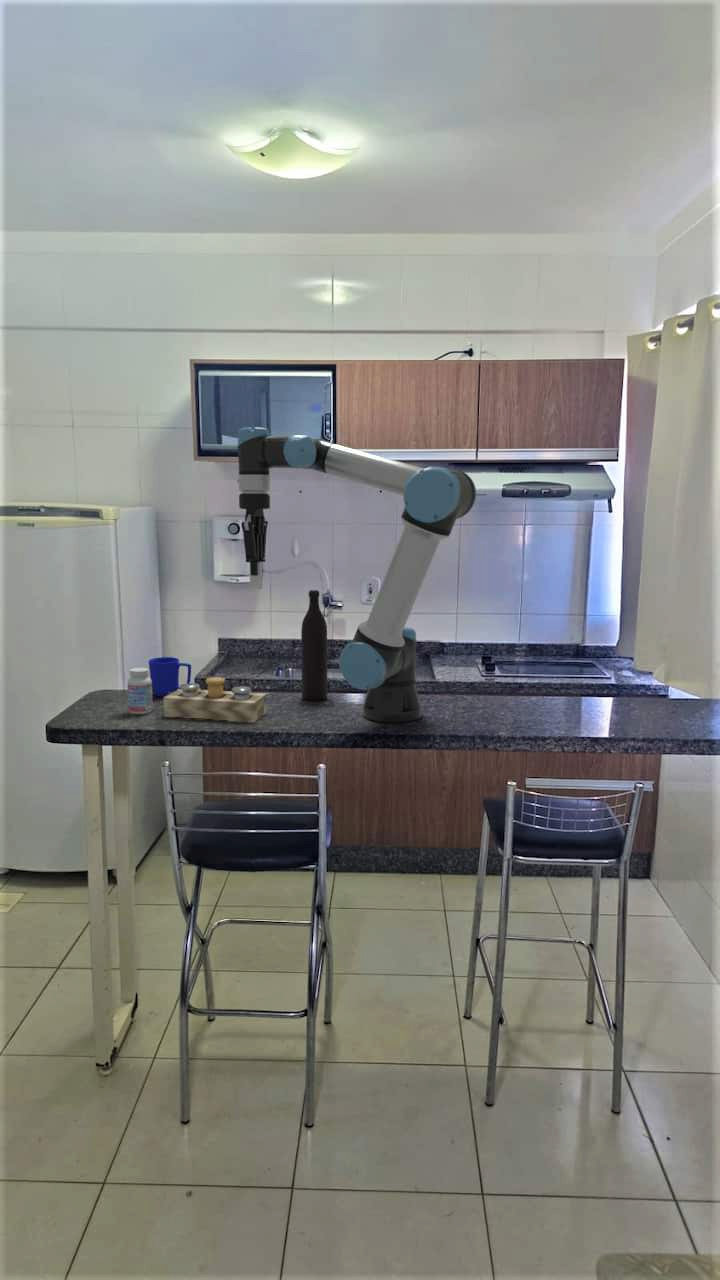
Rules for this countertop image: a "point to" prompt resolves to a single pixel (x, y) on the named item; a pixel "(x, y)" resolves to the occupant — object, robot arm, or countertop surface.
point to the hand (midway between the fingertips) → (256, 588)
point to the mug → (166, 675)
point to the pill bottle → (139, 691)
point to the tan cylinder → (215, 687)
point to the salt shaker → (190, 689)
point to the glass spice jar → (241, 692)
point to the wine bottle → (314, 651)
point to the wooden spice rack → (216, 706)
